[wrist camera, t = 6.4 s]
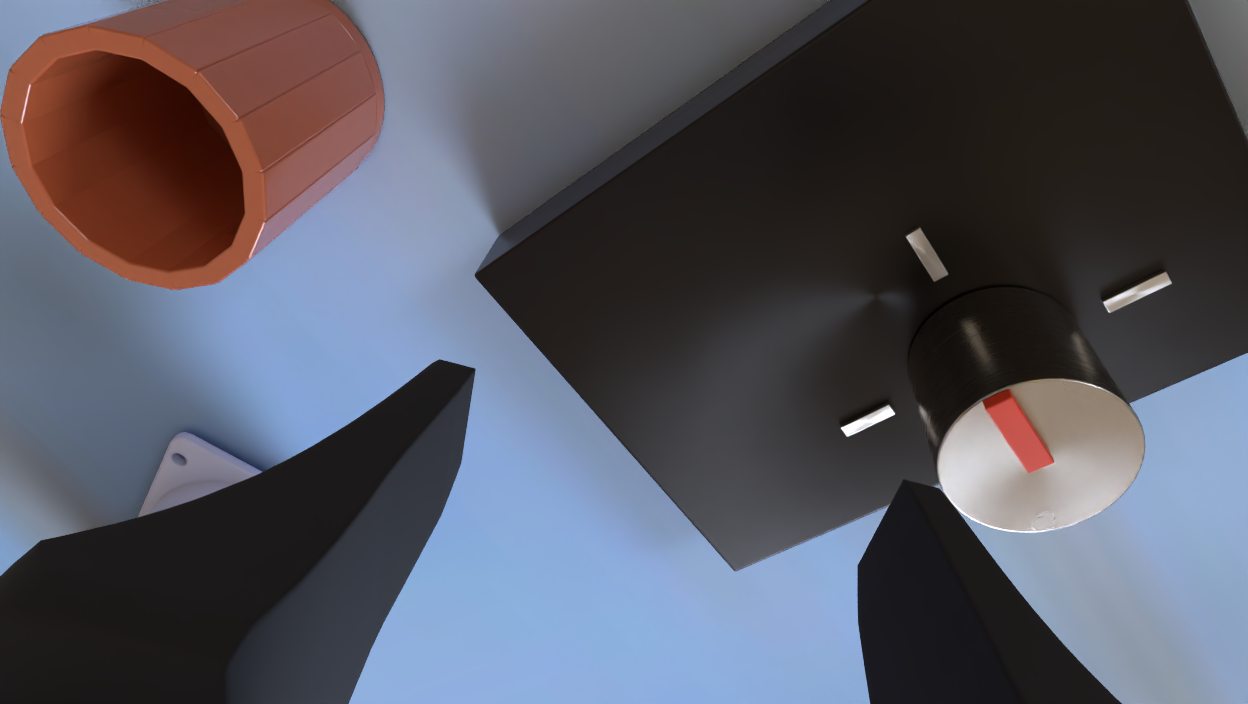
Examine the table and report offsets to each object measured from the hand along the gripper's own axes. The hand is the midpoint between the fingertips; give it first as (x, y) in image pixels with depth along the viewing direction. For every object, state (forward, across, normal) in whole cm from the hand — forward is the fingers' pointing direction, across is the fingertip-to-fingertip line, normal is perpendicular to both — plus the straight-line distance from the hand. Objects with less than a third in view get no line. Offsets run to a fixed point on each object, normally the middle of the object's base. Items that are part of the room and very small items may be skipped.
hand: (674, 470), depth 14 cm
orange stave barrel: (+10, +12, -1) cm, 16 cm away
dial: (+8, -8, 0) cm, 11 cm away
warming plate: (+10, -4, 0) cm, 11 cm away
